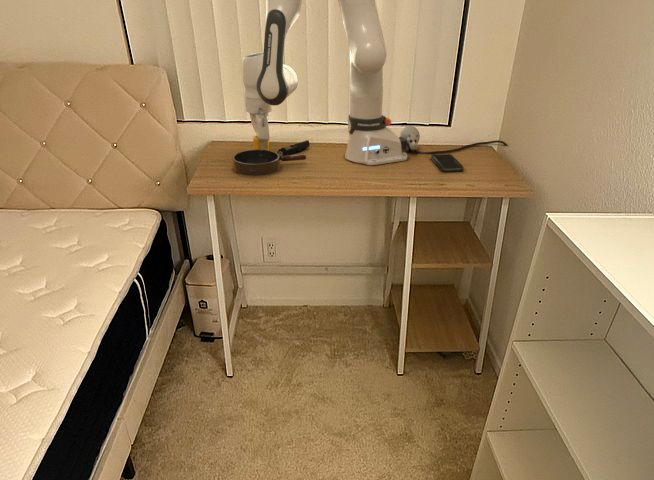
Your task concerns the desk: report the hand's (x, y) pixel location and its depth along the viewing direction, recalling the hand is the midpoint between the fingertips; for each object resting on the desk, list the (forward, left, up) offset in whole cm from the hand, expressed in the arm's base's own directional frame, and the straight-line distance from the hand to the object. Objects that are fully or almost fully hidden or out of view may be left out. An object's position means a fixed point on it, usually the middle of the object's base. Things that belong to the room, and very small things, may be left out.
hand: (261, 146), depth 200 cm
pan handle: (-9, +16, 0) cm, 18 cm away
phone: (-61, +26, -2) cm, 66 cm away
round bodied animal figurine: (-53, +10, -3) cm, 54 cm away
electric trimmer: (-11, +2, -3) cm, 12 cm away
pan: (+4, +16, -2) cm, 17 cm away
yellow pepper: (0, 0, -2) cm, 2 cm away
